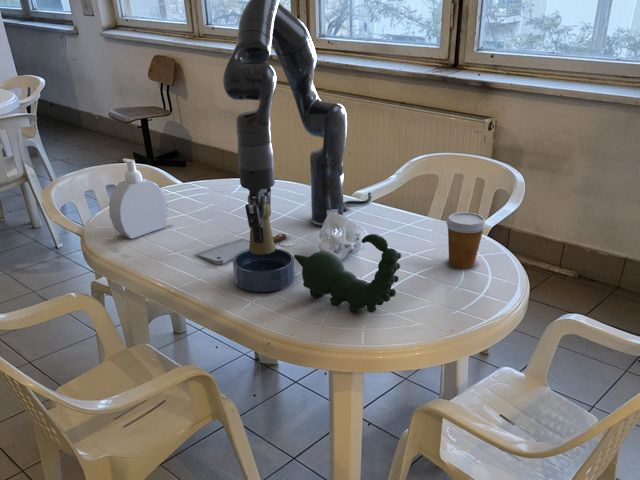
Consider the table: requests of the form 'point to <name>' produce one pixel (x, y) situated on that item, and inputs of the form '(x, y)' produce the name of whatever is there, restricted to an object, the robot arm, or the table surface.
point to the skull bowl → (340, 235)
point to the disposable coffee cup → (464, 238)
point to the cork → (267, 233)
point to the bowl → (264, 270)
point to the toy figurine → (351, 277)
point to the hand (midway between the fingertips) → (261, 238)
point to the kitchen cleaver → (231, 250)
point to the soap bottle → (137, 205)
